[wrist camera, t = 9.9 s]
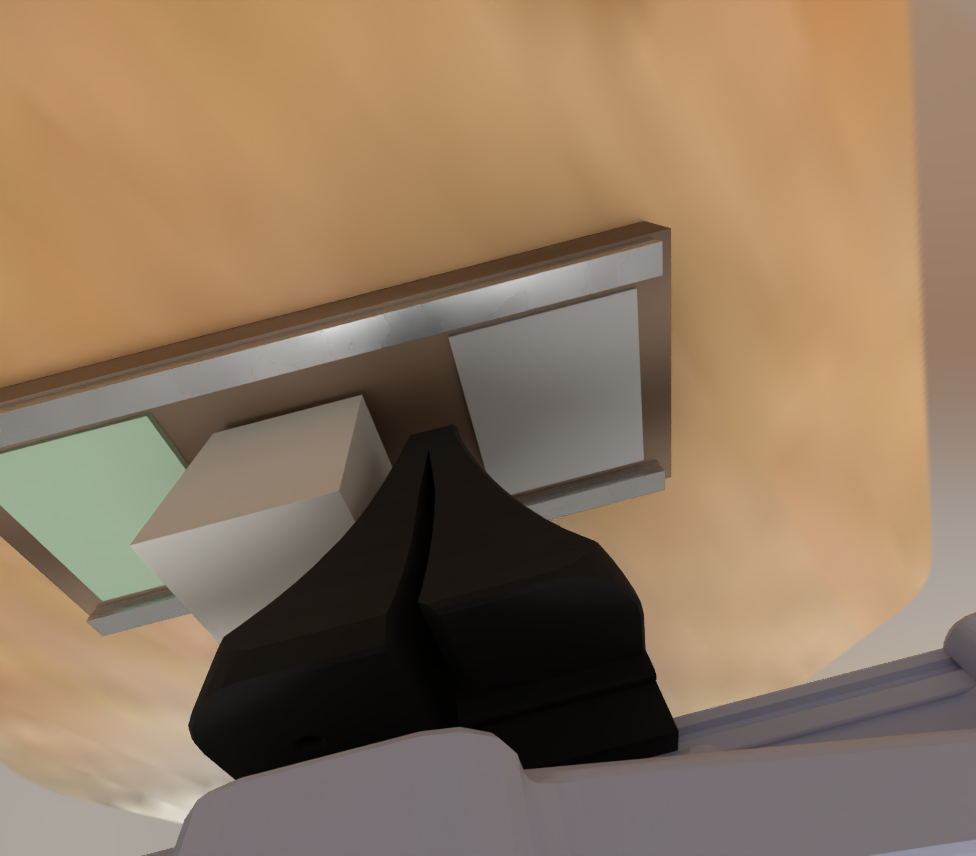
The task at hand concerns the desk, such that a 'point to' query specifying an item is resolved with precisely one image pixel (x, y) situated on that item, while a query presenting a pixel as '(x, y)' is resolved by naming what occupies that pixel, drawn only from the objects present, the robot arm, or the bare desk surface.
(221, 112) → the desk surface
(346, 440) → the off-white matte cube
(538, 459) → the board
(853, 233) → the desk surface
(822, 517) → the desk surface
